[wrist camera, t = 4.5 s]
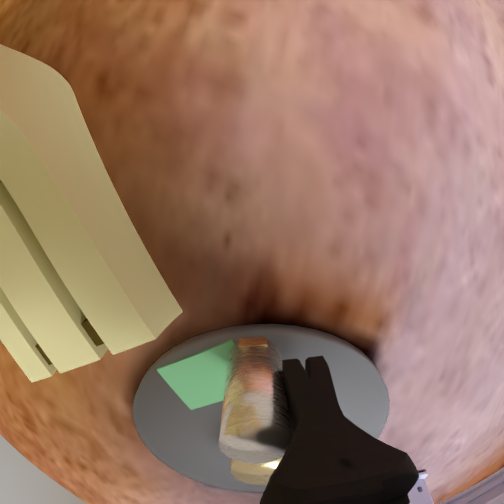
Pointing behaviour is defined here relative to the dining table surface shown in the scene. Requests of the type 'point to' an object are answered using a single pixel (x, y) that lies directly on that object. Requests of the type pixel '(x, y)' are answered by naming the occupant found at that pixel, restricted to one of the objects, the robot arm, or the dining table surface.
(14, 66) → the slatted curved stool
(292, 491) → the robot arm
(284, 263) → the dining table surface
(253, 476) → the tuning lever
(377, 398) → the dial plate
